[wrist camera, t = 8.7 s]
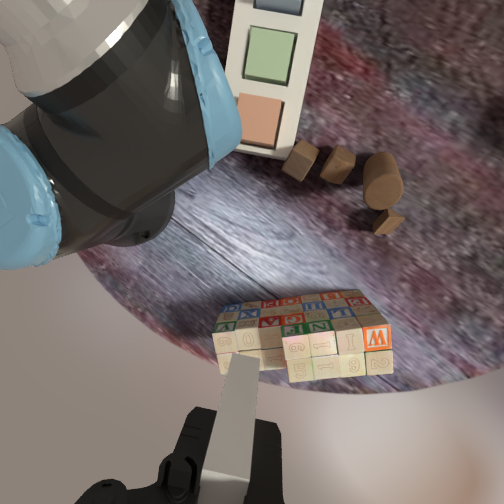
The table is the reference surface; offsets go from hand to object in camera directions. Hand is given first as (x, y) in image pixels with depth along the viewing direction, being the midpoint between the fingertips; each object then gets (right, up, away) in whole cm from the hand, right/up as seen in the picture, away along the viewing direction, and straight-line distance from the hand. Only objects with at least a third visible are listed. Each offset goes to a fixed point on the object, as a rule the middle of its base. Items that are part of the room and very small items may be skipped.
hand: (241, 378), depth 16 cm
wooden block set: (+14, +17, +26) cm, 34 cm away
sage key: (+3, +31, +22) cm, 38 cm away
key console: (+3, +31, +23) cm, 39 cm away
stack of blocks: (+7, -3, +31) cm, 32 cm away
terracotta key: (+1, +23, +22) cm, 32 cm away
